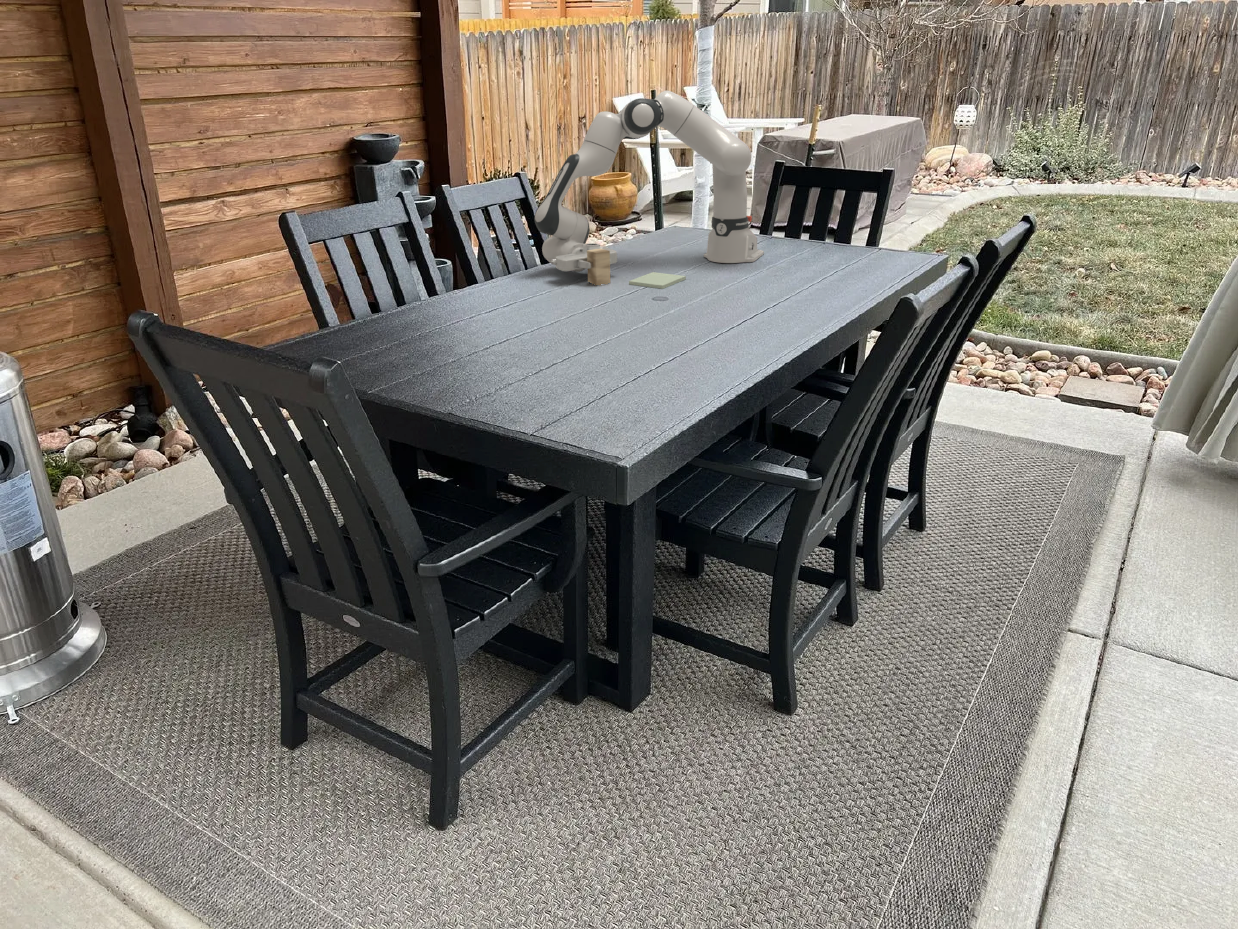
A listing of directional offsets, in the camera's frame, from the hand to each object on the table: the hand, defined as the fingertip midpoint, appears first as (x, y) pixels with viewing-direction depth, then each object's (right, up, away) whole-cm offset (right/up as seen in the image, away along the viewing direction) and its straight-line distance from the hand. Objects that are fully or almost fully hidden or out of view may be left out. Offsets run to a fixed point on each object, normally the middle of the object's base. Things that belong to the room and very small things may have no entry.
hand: (600, 264), depth 281 cm
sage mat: (+18, -5, +3) cm, 19 cm away
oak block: (0, -5, +3) cm, 6 cm away
